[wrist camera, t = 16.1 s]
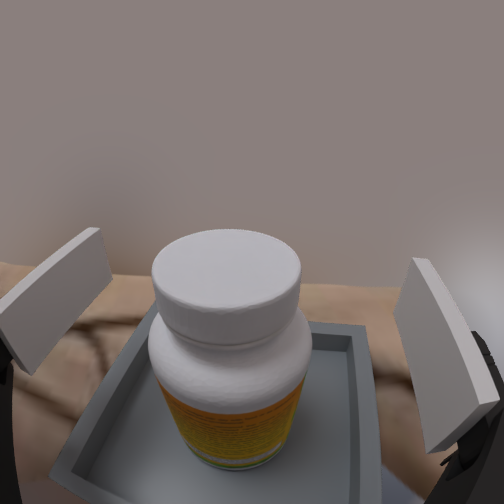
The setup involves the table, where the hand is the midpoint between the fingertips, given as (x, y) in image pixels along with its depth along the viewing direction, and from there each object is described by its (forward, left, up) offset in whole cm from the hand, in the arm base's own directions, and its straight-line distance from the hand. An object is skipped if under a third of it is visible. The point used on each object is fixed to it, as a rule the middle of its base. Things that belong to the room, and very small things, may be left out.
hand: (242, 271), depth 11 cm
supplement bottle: (0, -3, -8) cm, 8 cm away
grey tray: (0, -3, -8) cm, 9 cm away
